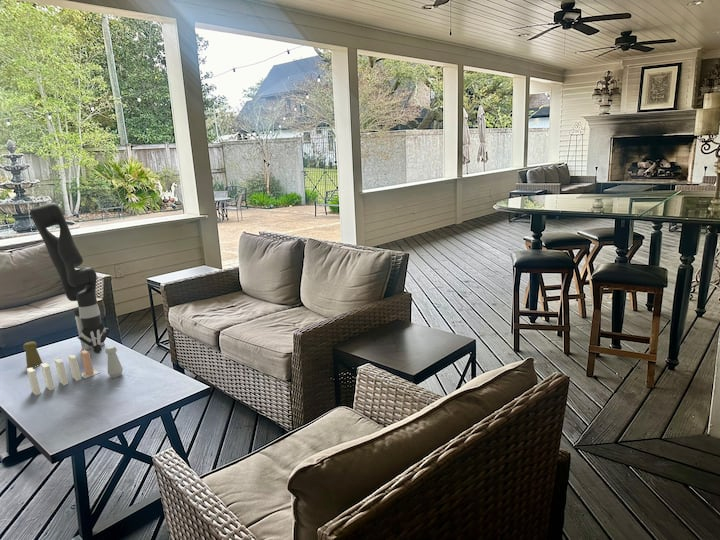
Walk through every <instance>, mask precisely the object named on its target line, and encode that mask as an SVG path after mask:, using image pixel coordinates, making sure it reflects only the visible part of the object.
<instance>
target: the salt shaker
mask: <svg viewBox="0 0 720 540" xmlns="http://www.w3.org/2000/svg"><path fill="white" fill-rule="evenodd" d="M104 352H105V354H106V355H107V372H106V373H107V374H108V375H109V377H110V378H111V379H116V378H120V377H121V375H122V374H123V369H124V368H123V366H122V364H121V362H120V360H119V357H118V355H117V347H116V346H114V345H111V346H107V347H105V349H104Z"/></svg>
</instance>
